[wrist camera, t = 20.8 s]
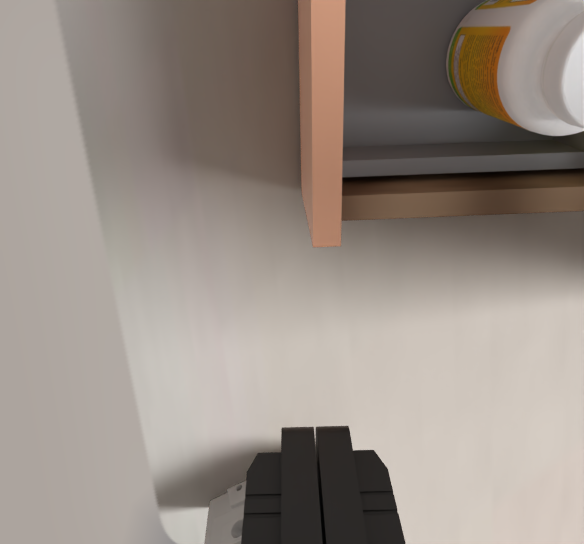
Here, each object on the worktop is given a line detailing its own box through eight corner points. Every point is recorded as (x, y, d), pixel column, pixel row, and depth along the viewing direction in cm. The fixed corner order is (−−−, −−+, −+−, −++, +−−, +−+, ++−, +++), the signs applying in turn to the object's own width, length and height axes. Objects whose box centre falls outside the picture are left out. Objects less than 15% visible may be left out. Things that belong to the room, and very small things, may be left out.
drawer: (301, 192, 28) (313, 247, 21) (295, -121, 22) (309, -193, 15) (547, 182, 29) (640, 233, 22) (612, -127, 22) (774, -201, 15)
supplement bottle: (491, 133, 26) (601, 184, 18) (421, 64, 25) (504, 83, 16) (572, 47, 25) (740, 56, 16) (503, -33, 23) (648, -71, 14)
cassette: (337, 436, 37) (352, 527, 31) (348, 451, 38) (366, 544, 31) (205, 496, 40) (192, 594, 33) (218, 509, 40) (208, 608, 34)
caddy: (325, 184, 29) (338, 220, 23) (326, -111, 22) (345, -155, 17) (573, 175, 29) (642, 208, 24) (640, -118, 23) (754, -163, 17)
